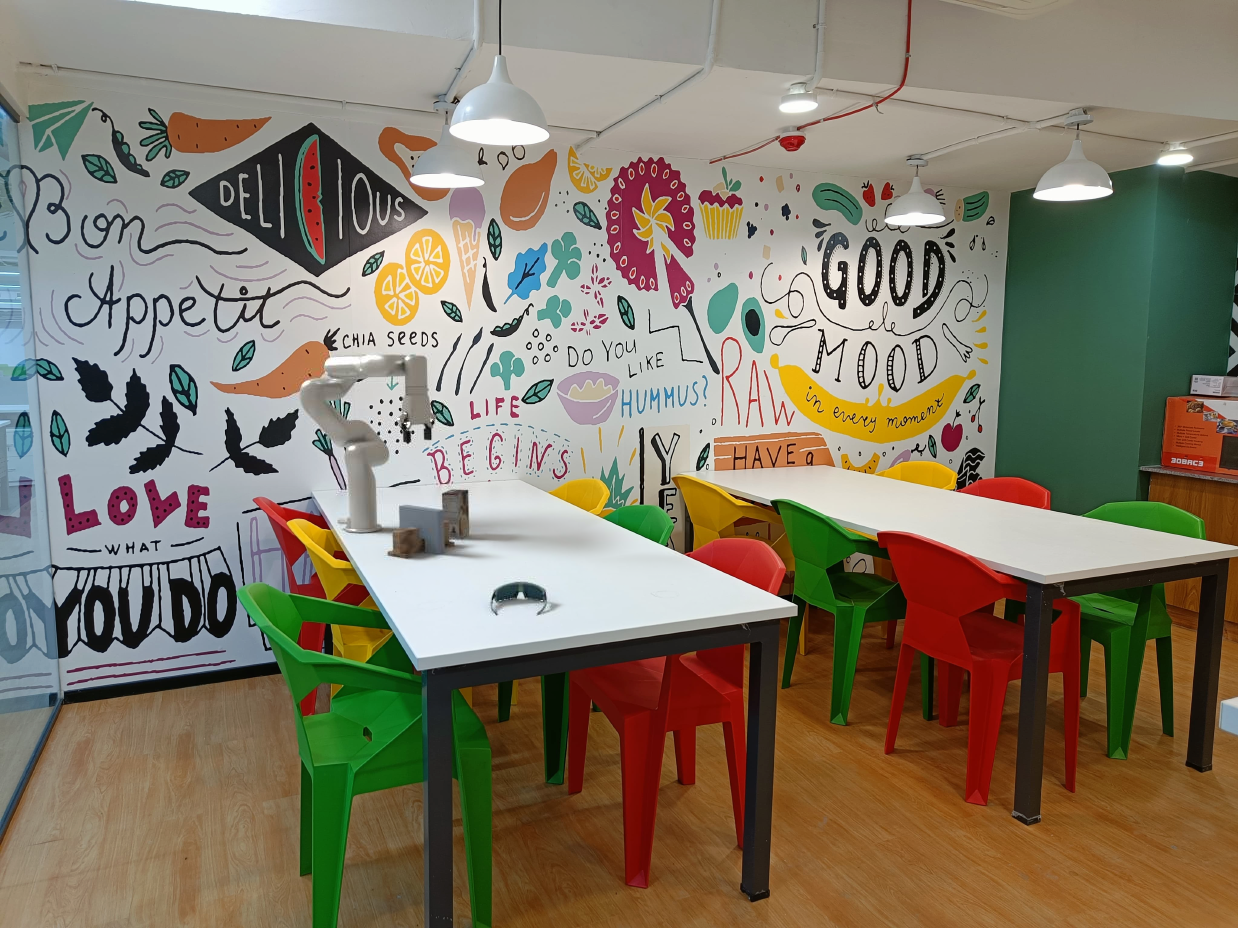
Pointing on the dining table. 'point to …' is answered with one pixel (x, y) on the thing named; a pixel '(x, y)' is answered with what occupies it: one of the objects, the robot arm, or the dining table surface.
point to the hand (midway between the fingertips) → (417, 441)
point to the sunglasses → (513, 590)
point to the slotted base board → (413, 542)
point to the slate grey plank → (425, 525)
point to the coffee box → (456, 512)
